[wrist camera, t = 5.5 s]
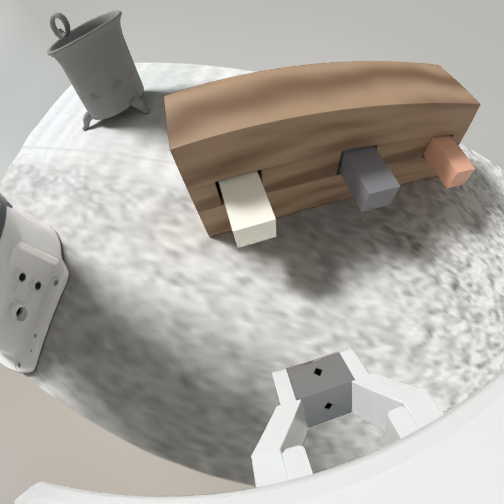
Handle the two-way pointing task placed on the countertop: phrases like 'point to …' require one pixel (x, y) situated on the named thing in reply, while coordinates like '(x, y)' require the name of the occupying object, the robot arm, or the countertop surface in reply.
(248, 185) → the cream key
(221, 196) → the console
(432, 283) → the countertop surface
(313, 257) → the countertop surface
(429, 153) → the terracotta key
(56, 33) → the grey footed pot
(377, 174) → the charcoal key
